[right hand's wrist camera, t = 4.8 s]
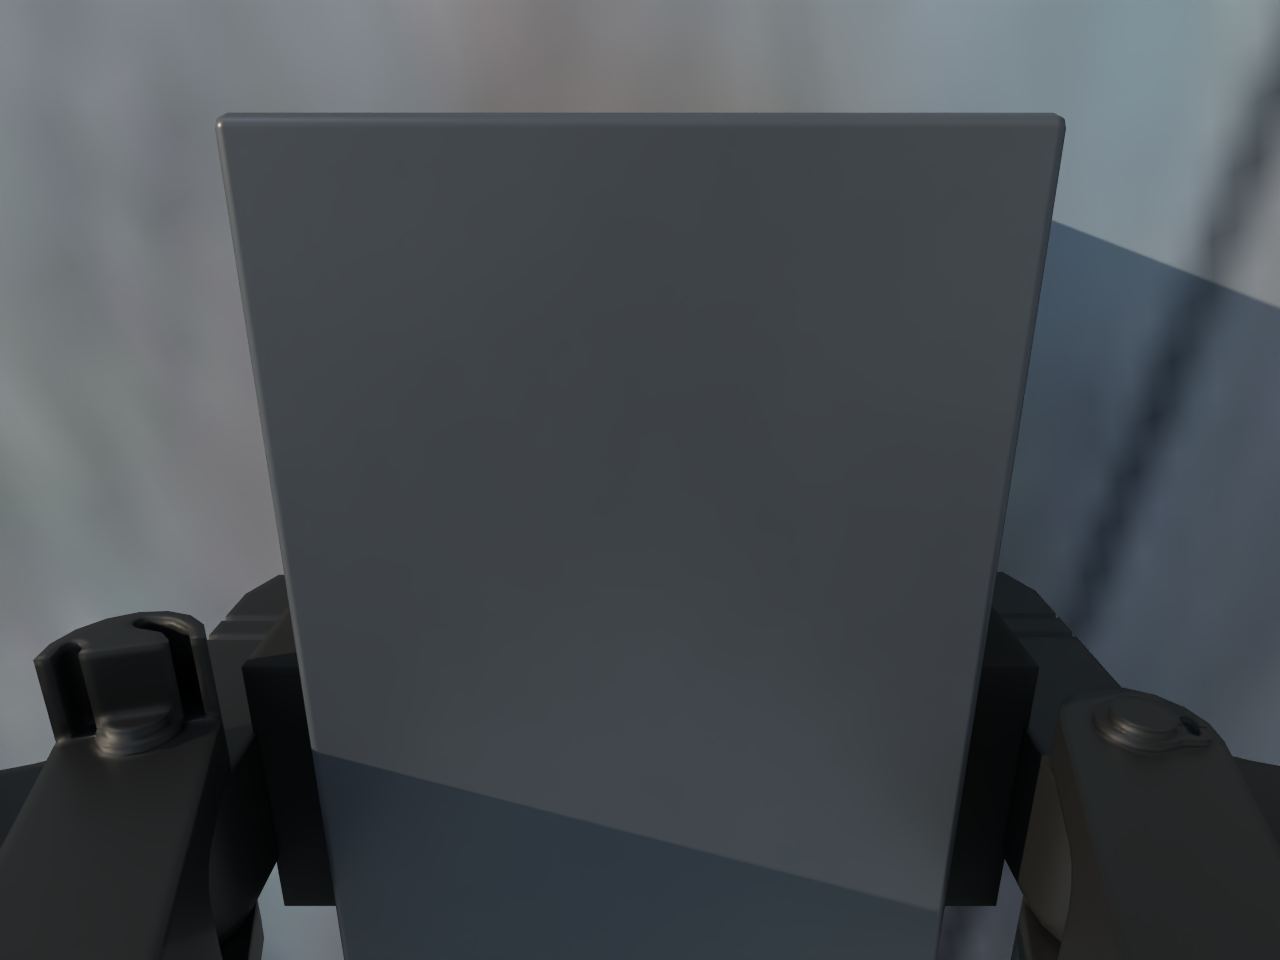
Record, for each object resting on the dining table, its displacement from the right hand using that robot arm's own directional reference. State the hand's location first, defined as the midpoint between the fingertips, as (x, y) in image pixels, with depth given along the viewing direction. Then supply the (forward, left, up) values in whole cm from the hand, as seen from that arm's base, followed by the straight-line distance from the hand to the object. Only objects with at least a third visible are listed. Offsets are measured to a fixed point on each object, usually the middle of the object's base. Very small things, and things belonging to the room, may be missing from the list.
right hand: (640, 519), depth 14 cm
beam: (+7, +22, -1) cm, 23 cm away
